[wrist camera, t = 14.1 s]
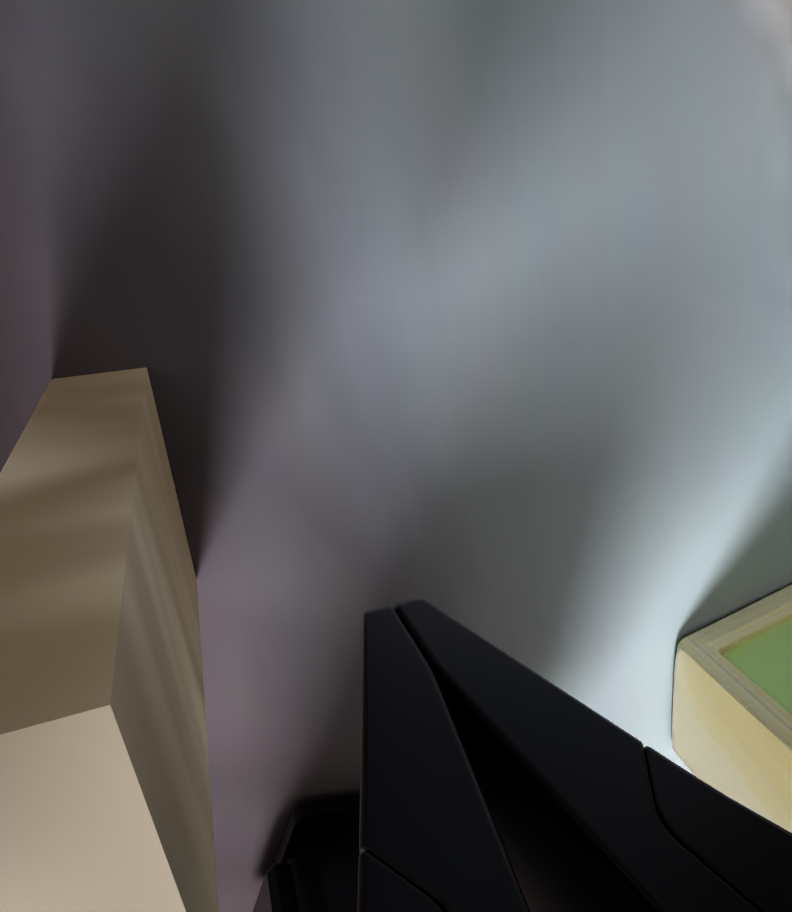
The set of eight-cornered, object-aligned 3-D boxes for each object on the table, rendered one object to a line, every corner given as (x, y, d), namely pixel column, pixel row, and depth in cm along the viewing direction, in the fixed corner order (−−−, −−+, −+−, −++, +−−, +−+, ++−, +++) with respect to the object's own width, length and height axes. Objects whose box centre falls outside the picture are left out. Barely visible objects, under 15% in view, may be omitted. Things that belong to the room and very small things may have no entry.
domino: (146, 367, 11) (110, 705, 4) (196, 578, 13) (225, 1020, 6) (51, 378, 10) (-169, 779, 4) (119, 596, 13) (63, 1089, 6)
